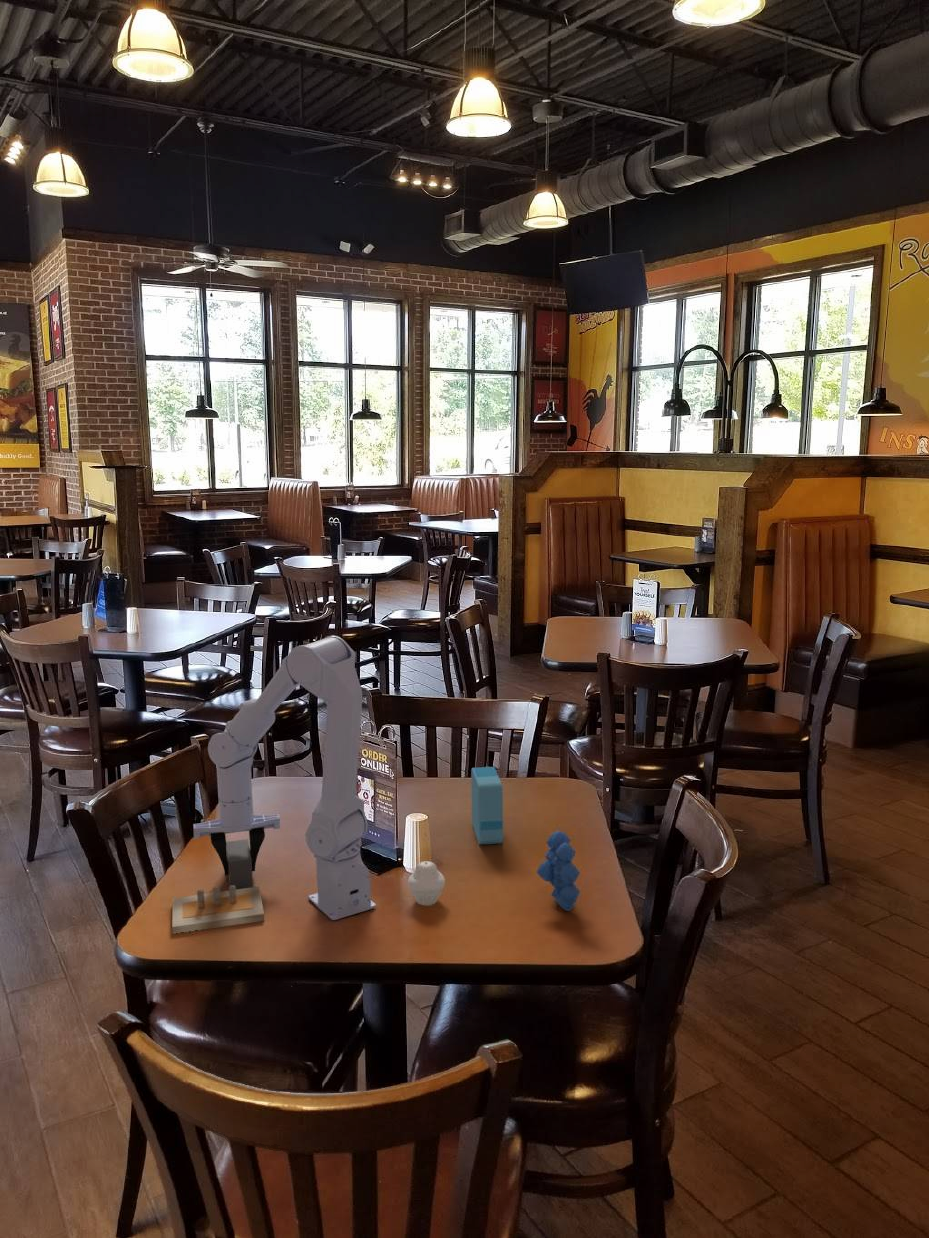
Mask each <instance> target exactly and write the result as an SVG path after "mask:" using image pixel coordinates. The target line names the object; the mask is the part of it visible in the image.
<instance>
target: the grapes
mask: <svg viewBox="0 0 929 1238" xmlns="http://www.w3.org/2000/svg"><path fill="white" fill-rule="evenodd" d="M570 841H571V839H570V837H569V836H568V835H567V834H566V833H565V832H564V831H562V830H557V831H556V832H552V833H551V834H550V836H549V837H548V839H547V841H546V845H547V847H548V848H549V849H548V850H547V852H546V854H545V856H544V858H545V859H546V860H544V861H542V862H541V863H540V865H539V866H538V869H537V871H536V873H537V874H538V876H539V877H540V879H542V880H543V881H545V882H549V883H550V884H551V885H552V887H553V890H552V893H551V896H552V897H553V898H554V899H555V901H556V902H557V904H558V905H559V906H560V907H561V908H562V909H563V910H564V911H571V910H572V909H573V908H574V906H575V904H576V903H577V901H578V900H577V899H578V897H579V894H580V893H581V890H580V889H579V888H578V887H577V885H576V884H575V882H576V881H577V880H578V878H579V875H580V873H581V872H580V870H579V869H578V868H577V866H576V865H575V864H574V863H573V862H572V861H573V860H574V858H575V856H576V853H577V852H576V850H575V849H574V847H573V846H572V845H571V844H570Z"/></svg>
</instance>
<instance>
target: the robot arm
mask: <svg viewBox="0 0 929 1238" xmlns="http://www.w3.org/2000/svg"><path fill="white" fill-rule="evenodd" d="M355 661H356V651H354V650H353V649H352V648H351V647H350V645H349V644H348V642H347V641H345V640H344V639H343V638H341V637H340V636H338V635H329V636H325V637H324V638H321V639H319V640H316V641H314V642H310V643H307V644H303V645H298V646H295V647H293V648H292V649H291V650H290V652H289V653H288V655H286V656H285V657H284V658H283V659H282V660H281V665H280V667H279V668H278V669H277V671H276V673H274V675H273V677H272V678H271V680H270V681H269V682H268V684H267V685H266V687H265V688H264V689H263V691H262V692H261V694H260V695H259V696H258V698H251V699H248V700H246V701H243V702H241V703H240V704H239V705H238V707H237V708H238V712H237V713H236V714H235V716H234V717H233V719H232V720H229V721H227V722H226V723H225V725H224V726H225V728H224V731H223V732H218V733H215V734H212V736H211V737H210V740H208V744H207V745H208V746H207V752H208V753H207V754H208V756H209V759H210V760H211V761H212V763H213V764H215V766H216V780H217V795H218V796H217V798H218V813H219V815H218V816H219V818H217V819H213V820H208V821H205V822H200V823H193V824H192V825H193V839H194V840H196V839H201V837H208V836H210V842H211V845H212V846H213V849H214V850H215V852H216V853H217V855H218V857H219V860H220V862H221V864H222V867H223V871H224V875H225V876H227V875H228V876H229V868H228V860H227V848H226V842H227V839H226V837H227V836H226V834H231V833H241V832H248V835H249V836H248V837H249V848H250V854H251V859H252V872H255V871H256V864H257V860H258V855H259V853H260V849H261V847H262V845H263V844H264V843H263V842H264V841H265V838H266V832H265V830H266V829H274V830H278V829H281V818H280V814H279V813H278V814H277V813H276V814H254V804H253V803H254V802H253V801H254V800H253V781H252V766H253V764H254V763H253V761H254V759H253V758H254V756H255V755H256V753H257V750H258V743H259V742H260V740H262V738H263V737H264V736H265V735H266V733H267V732H268V731H269V730H270V728H271V727H272V725H274V723H275V721H276V714H275V711H276V710H277V709H278V708H279V707H280V705H281V704H282V703H283V702H284V701H285V700H286V699H287V698H288V697H289V696H290V695H291V694H292V692H293V691H294V690H295V689H296V688H297V687H298V686H301V687H303V688H304V689H305V690H306V691H308V692H309V693H311V694H312V695H314V696H315V697H317V698H318V699H319V700H322V701H323V702H324V703H325V704H326V714H325V715H326V717H325V733H324V734H325V735H324V747H323V748H324V751H323V766H322V767H323V768H322V769H323V771H322V781H321V783H322V786H321V797H320V798H319V801H318V802H317V804H316V806H314V807H315V808H314V809H313V811H312V813H311V821H310V823H309V824H310V826H309V825H308V827H307V829H306V832H305V841H306V844H307V847H308V849H309V851H310V852H311V853H312V854H313V857H314V858H315V865H316V866H315V867H316V887H317V888H316V889H317V891H316V893H313V894H309V895H308V900H310V902H312V904H314V905H315V906H316V907H317V908H318V909H319V910H321V912H322V913H324V914H325V915H326V916H327V917H328V918H329V919H330V920H331V921H336V920H337V921H338V920H339V919H342V918H346V917H350V916H352V915H356V914H359V913H362V912H366V911H368V910H372V909H375V908H376V907H377V904H376V903H375V902H374V901H372V899H371V898H372V897H371V896H372V895H371V892H372V891H371V873H370V871H369V869H368V867H367V866H366V865H365V864H364V862H363V860H362V857H361V845H362V838H363V837H365V835H366V834H367V831H368V827H369V824H368V823H367V818H366V816H365V812H364V808H365V801H364V800H363V799H362V798H361V797H360V796H358V795H357V780H358V765H359V753H360V738H361V736H360V735H361V724H362V721H361V720H362V710H363V709H362V706H363V690H362V686H361V683H360V679H359V678H358V677H359V676H358V674H357V671H356V667H355V663H356V662H355Z"/></svg>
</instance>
